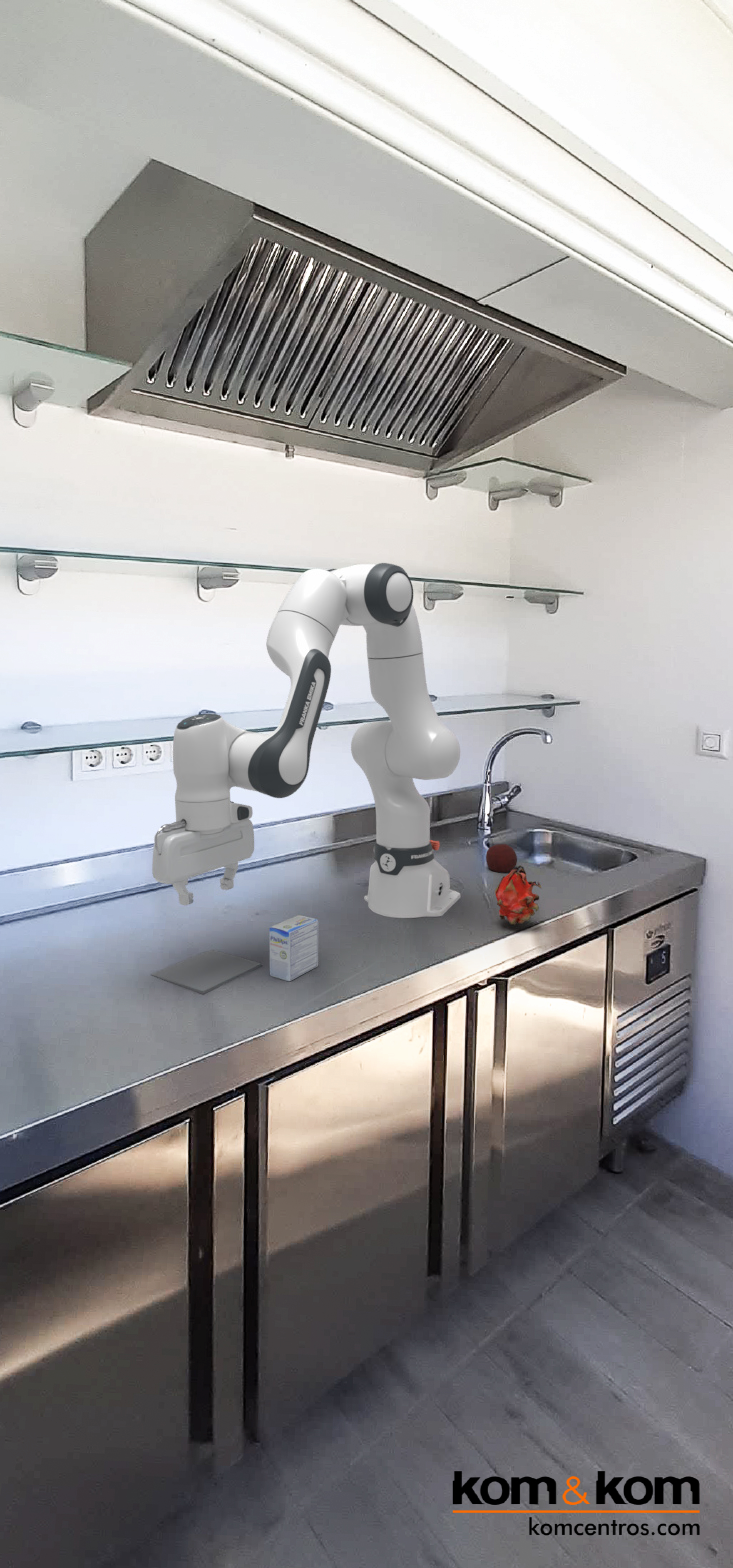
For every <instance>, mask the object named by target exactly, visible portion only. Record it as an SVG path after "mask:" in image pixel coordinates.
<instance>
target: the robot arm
mask: <svg viewBox="0 0 733 1568" xmlns="http://www.w3.org/2000/svg"><path fill="white" fill-rule="evenodd" d="M413 586H414V585H413V584H412V580H411V578H410V576H409V575H408V573H407V572H406V570H405V569H404V568H403V567H401V566H400V565H397V564H393V563H387V562H380V563H357V564H354V565H350V566H345V567H340V568H331V569H327V570H326V569H324V568H311V569H307V570H306V571H304V572H302V573H301V575H300V576H299V577H298V578H297V579H296V580H295V582H294V583H293V585H292V586H291V588H290V589H289V591H288V593H287V594H286V596H285V597H284V599H283V601H282V603H281V605H280V606H279V608H278V610H277V613H276V614H275V617H274V618H273V621H272V622H271V625H270V626H269V627H270V628H269V630H268V633H267V638H266V641H265V643H266V644H265V645H266V652H267V653H268V656H269V658H270V660H271V661H272V663H273V664H274V665H275V667H276V668H278V669H279V670H280V671H281V672H282V673H284V674H285V675H286V676H288V677H289V679H290V689H289V693H288V695H287V700H286V702H285V706H284V709H283V711H282V714H281V719H280V721H279V724H278V726H277V728H276V729H274V730H273V731H272V732H270V733H260V732H256V731H255V732H254V731H249V730H246V729H244V728H243V729H242V728H241V727H237V726H236V725H233V724H231V723H230V722H228V721H227V720H225V719H224V718H223V717H222V715H221V714H218V713H217V714H216V713H204V714H203V713H202V714H195V715H191V716H188V717H186V718H184V719H182V720H181V721H179V722H178V723H177V725H176V727H175V730H174V734H173V740H172V741H173V743H172V763H173V764H172V765H173V769H172V770H173V775H174V778H175V781H176V790H175V794H174V802H175V803H174V805H175V820H176V821H174V822H171V823H166V824H163V825H161V826H160V828H159V829H158V830H157V832H156V833H155V834H154V837H153V838H154V839H153V840H154V844H153V850H152V869H151V871H152V877H153V879H154V880H155V881H156V882H157V883H161V884H166V885H172V887H173V888H174V890H175V892H177V895H178V903H179V904H180V905H181V906H188V905H191V904H193V903H194V893H193V892H191V891H190V892H189V891H188V888H187V886H188V884H189V883H188V882H189V879H191V878H193V877H197V876H200V875H203V874H205V873H206V874H207V873H208V872H211V871H212V872H213V871H214V870H217V869H221V868H225V870H224V873H223V876H222V878H220V879H219V883H220V885H219V887H220V889H221V890H223V891H224V890H225V891H228V890H231V889H234V886H235V885H234V883H235V882H234V879H235V876H236V874H237V872H238V870H239V862H241V861H245V860H247V859H250V858H251V857H252V856H253V854H254V851H255V832H254V825H253V822H252V820H251V818H252V817H253V814H254V813H253V807H252V806H250V805H248V804H247V805H246V804H243V803H236V802H234V801H231V789H232V788H233V787H237V788H241V789H244V790H248V791H253V792H258V793H261V794H263V795H266V796H268V797H272V798H276V799H285V798H287V797H291V795H293V794H294V793H296V792H297V791H298V790H299V789H300V788H301V787H302V785H303V783H304V782H305V781H306V779H307V776H308V773H309V769H310V762H311V761H310V760H311V751H312V746H313V741H314V738H315V735H316V730H317V727H318V724H319V721H320V718H321V713H322V711H323V707H324V703H325V701H326V697H327V694H328V689H329V686H330V682H331V675H332V674H331V673H332V665H331V662H330V659H329V655H330V651H331V649H332V647H333V644H334V642H335V638H336V636H337V633H338V632H339V629H340V626H341V625H342V626H348V627H349V626H350V627H351V626H353V627H354V626H355V627H359V626H361V627H363V629H364V631H365V633H366V635H365V637H366V656H367V665H368V675H369V676H368V677H369V686H370V692H371V696H372V698H373V700H374V701H375V702H376V703H377V704H378V705H379V706H381V708H382V709H384V711H385V713H386V714H387V717H388V719H389V721H388V720H379V721H372V722H368V723H367V722H366V723H364V724H361V725H360V726H358V728H357V729H356V730H355V732H354V733H353V736H352V739H351V742H350V751H351V755H352V758H353V760H354V762H355V763H356V764H357V766H359V768H360V769H361V770H362V772H363V773H364V775H365V777H366V779H367V781H368V785H369V787H370V789H371V792H372V796H373V800H374V806H375V828H376V830H375V831H376V832H375V833H376V837H375V838H376V839H375V840H376V841H375V842H374V843H373V845H374V846H373V859H374V860H375V861H374V863H372V864H371V866H370V870H369V879H368V892H367V895H364V897H363V899H364V900H365V902H367V903H368V904H367V905H368V908H369V910H371V911H372V912H373V913H375V914H377V915H381V916H384V917H388V918H395V919H396V918H398V919H413V918H422V917H423V918H424V917H426V918H427V917H430V918H432V917H434V918H435V917H442V916H444V914H445V913H447V912H448V911H449V910H450V909H451V908H452V907H453V906H454V905H455V903H457V901H458V900H459V899H461V893H460V892H459V891H456V890H454V889H450V887H451V886H450V885H451V884H450V883H451V882H450V879H451V878H450V873H449V871H448V870H447V869H445V868H444V866H442V865H441V864H440V863H439V862H438V861H437V860H436V859H435V854H434V851H439V849H440V846H441V845H440V841H439V840H432V839H431V838H430V835H431V833H430V830H431V829H430V828H431V825H430V824H431V808H430V806H429V803H428V801H427V800H426V799H425V797H423V796H422V795H421V794H420V792H419V791H418V788H417V787H416V785H415V782H414V779H415V780H416V779H417V780H423V781H429V780H438V779H439V780H440V779H445V778H448V777H449V776H451V775H452V774H453V773H454V772H455V770H456V769H457V767H458V766H459V763H460V758H461V746H460V743H459V740H458V737H457V736H456V735H455V734H454V732H452V730H450V729H449V728H448V727H447V726H446V725H445V724H444V723H443V721H442V720H441V719H440V717H439V714H438V713H437V711H436V709H435V707H434V705H433V701H432V700H431V697H430V695H429V690H428V685H427V678H426V669H425V660H424V659H425V658H424V651H423V650H424V649H423V641H422V633H421V629H420V625H419V620H418V616H417V613H416V609H415V608H414V605H413V603H414V602H413V601H414V589H413V588H414V587H413Z"/></svg>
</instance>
